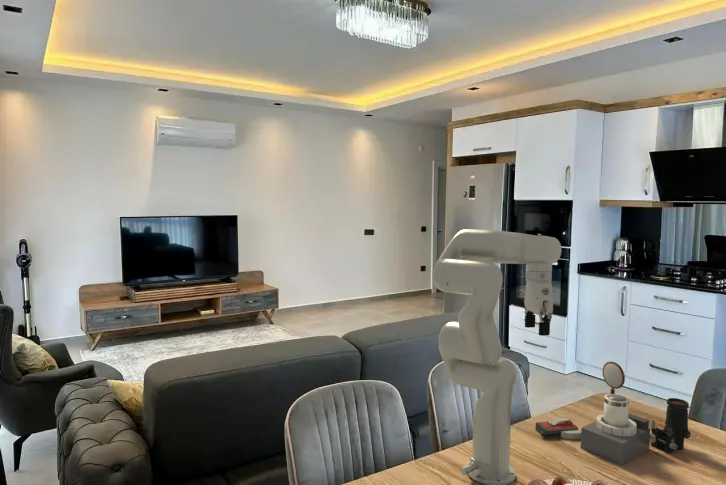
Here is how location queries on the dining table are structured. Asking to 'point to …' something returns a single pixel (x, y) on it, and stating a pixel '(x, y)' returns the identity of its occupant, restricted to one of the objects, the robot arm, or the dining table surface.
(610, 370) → the magnifying glass
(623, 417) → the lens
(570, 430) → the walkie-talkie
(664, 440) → the scope
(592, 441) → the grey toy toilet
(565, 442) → the dining table surface
